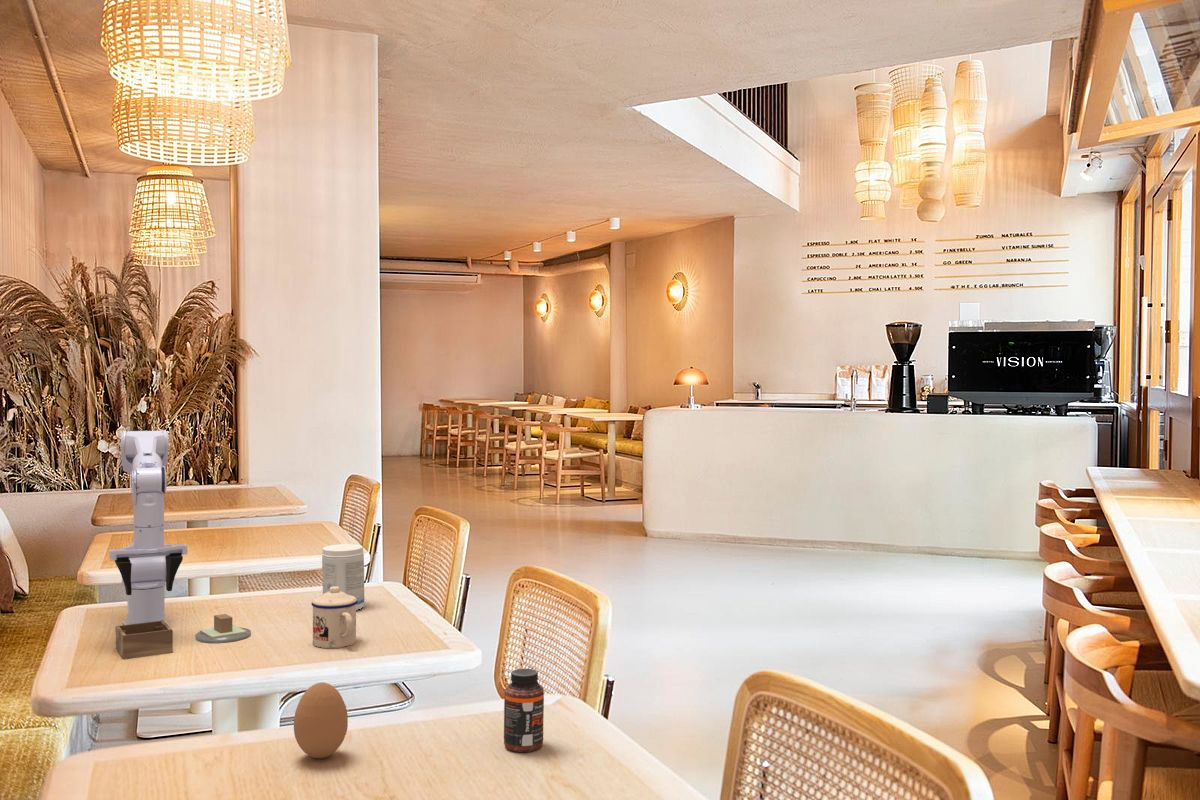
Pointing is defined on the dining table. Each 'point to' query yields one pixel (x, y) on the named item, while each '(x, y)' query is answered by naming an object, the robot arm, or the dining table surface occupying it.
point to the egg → (320, 720)
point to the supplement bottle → (523, 712)
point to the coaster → (205, 639)
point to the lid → (222, 628)
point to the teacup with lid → (334, 619)
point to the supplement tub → (344, 570)
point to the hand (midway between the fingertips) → (149, 592)
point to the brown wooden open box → (144, 639)
